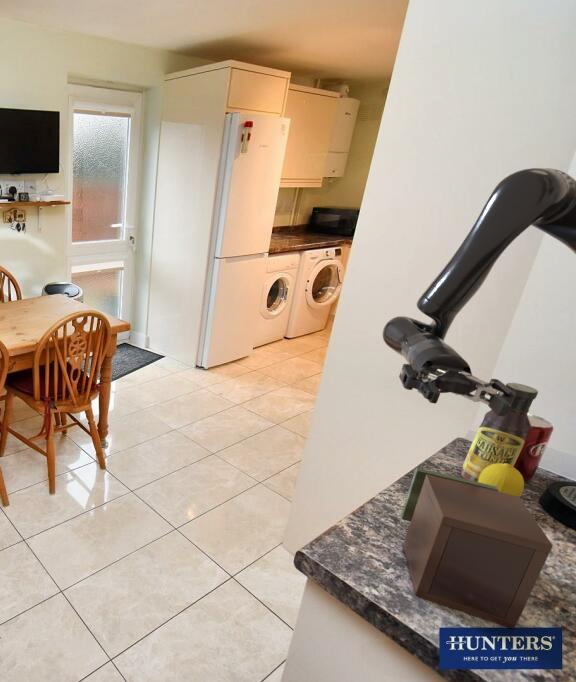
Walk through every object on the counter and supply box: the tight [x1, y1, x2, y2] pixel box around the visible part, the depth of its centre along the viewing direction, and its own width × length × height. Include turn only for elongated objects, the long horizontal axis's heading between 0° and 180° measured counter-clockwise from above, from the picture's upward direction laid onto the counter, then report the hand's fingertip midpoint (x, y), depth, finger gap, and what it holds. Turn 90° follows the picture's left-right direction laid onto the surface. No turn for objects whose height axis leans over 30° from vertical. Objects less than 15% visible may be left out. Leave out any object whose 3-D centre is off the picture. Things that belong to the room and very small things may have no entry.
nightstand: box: [402, 474, 554, 630], centre depth 59 cm, size 10×10×13 cm
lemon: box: [478, 463, 525, 498], centre depth 77 cm, size 6×6×8 cm
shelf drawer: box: [400, 467, 499, 523], centre depth 65 cm, size 11×10×10 cm
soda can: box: [513, 412, 554, 484], centre depth 85 cm, size 7×7×12 cm
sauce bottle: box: [460, 382, 539, 482], centre depth 81 cm, size 6×6×20 cm
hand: (469, 404), depth 69 cm, fingers open, 8 cm apart
